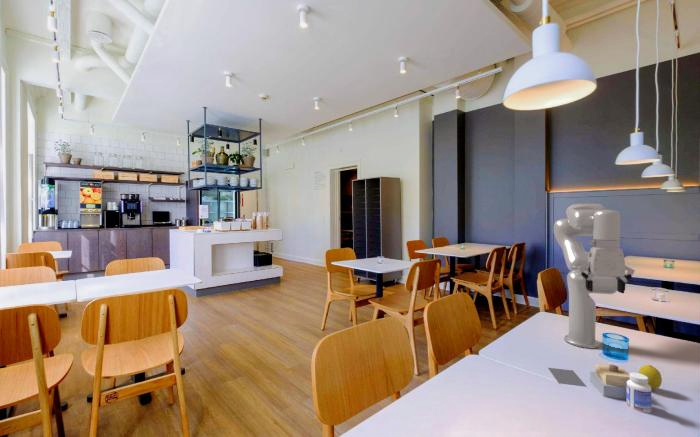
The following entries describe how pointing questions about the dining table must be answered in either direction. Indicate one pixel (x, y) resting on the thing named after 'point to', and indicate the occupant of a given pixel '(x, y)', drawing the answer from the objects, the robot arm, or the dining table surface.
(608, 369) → the lid
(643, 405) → the pill bottle
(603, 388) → the grey square container
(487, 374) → the dining table surface
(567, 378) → the grey rectangular plate
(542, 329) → the dining table surface
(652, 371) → the lemon
